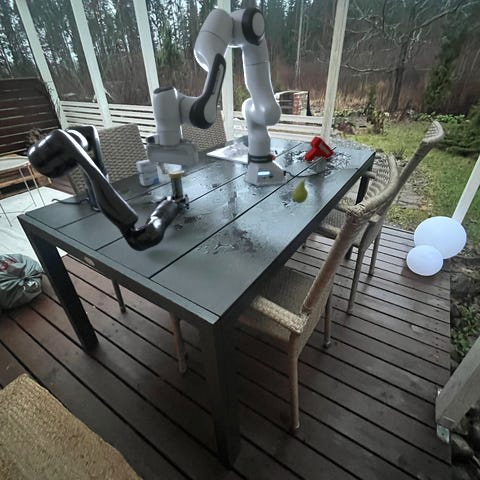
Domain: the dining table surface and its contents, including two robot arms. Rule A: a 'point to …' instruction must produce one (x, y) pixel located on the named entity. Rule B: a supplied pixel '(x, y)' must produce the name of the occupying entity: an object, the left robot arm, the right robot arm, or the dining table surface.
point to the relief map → (232, 153)
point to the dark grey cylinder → (177, 190)
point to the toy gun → (318, 150)
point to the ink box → (147, 172)
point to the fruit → (300, 192)
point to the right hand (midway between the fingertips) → (174, 174)
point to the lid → (175, 173)
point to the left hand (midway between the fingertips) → (180, 195)
